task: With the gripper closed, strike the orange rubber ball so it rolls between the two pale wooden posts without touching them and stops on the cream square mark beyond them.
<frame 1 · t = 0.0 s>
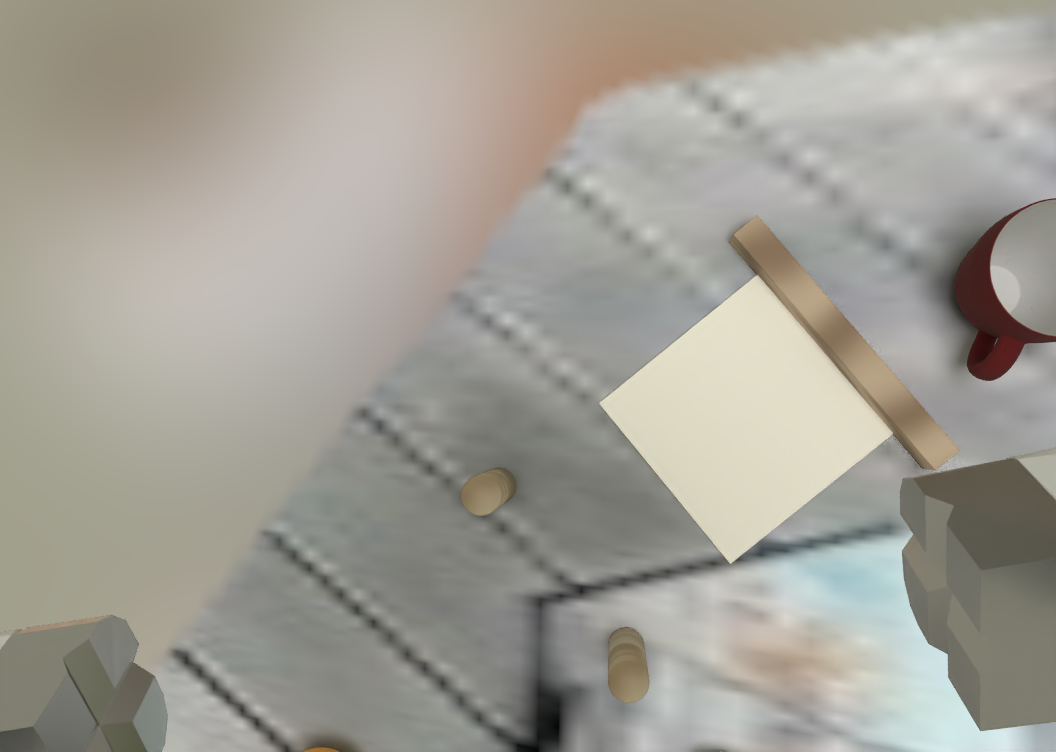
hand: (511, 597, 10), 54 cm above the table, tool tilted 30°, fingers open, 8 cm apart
post 1: (499, 485, 64), on the table
mug: (983, 311, 62), on the table
post 2: (626, 645, 63), on the table
stopper wall: (835, 344, 62), on the table
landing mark: (743, 418, 63), on the table
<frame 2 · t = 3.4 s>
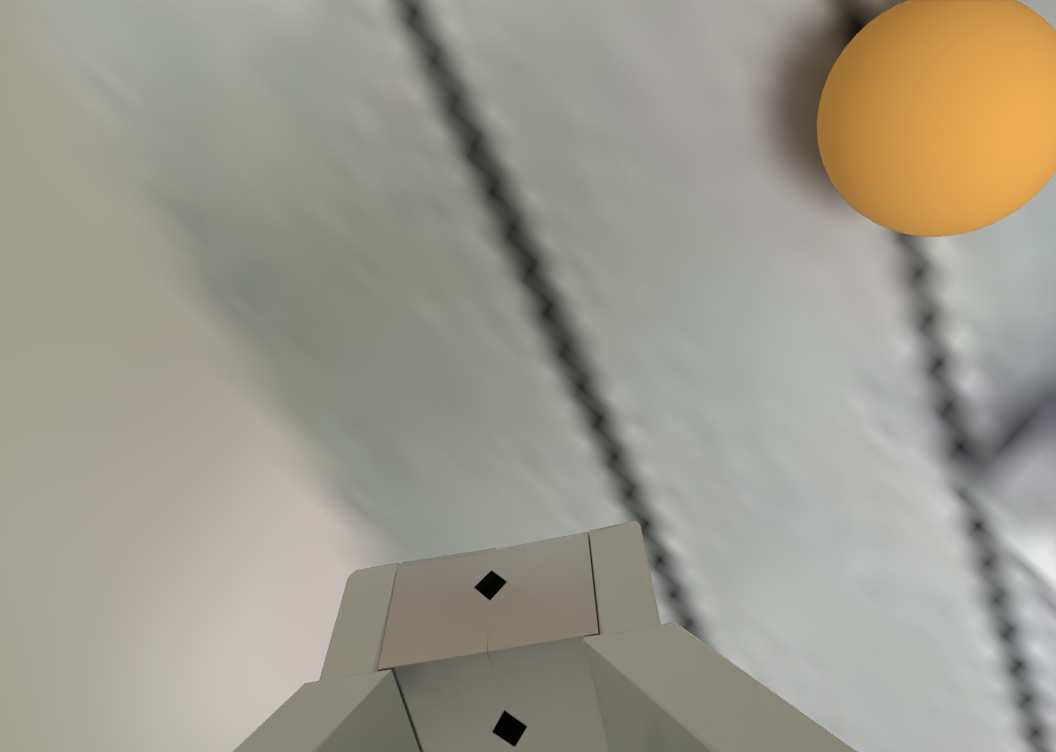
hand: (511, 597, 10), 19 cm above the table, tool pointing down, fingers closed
ball: (940, 117, 23), on the table
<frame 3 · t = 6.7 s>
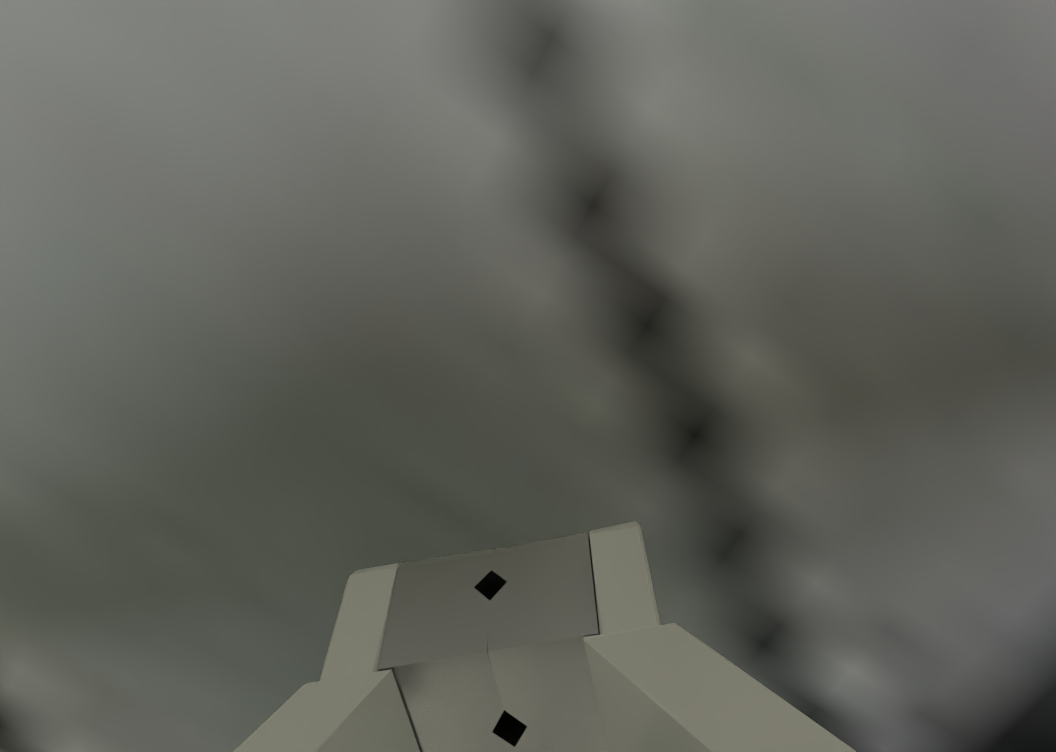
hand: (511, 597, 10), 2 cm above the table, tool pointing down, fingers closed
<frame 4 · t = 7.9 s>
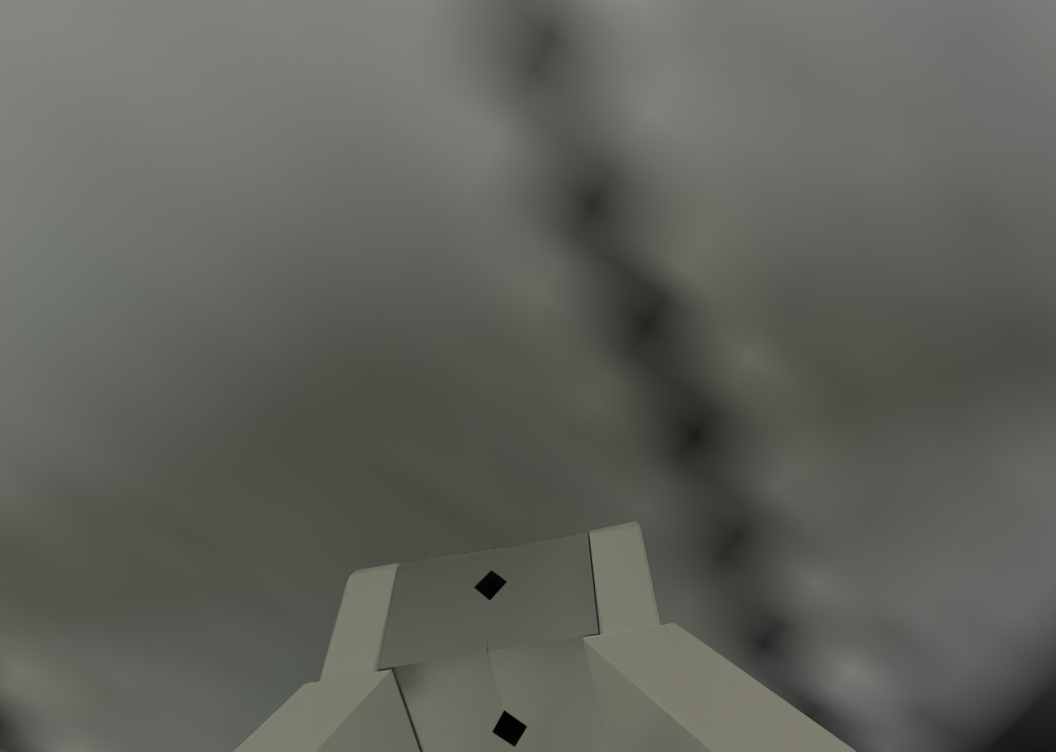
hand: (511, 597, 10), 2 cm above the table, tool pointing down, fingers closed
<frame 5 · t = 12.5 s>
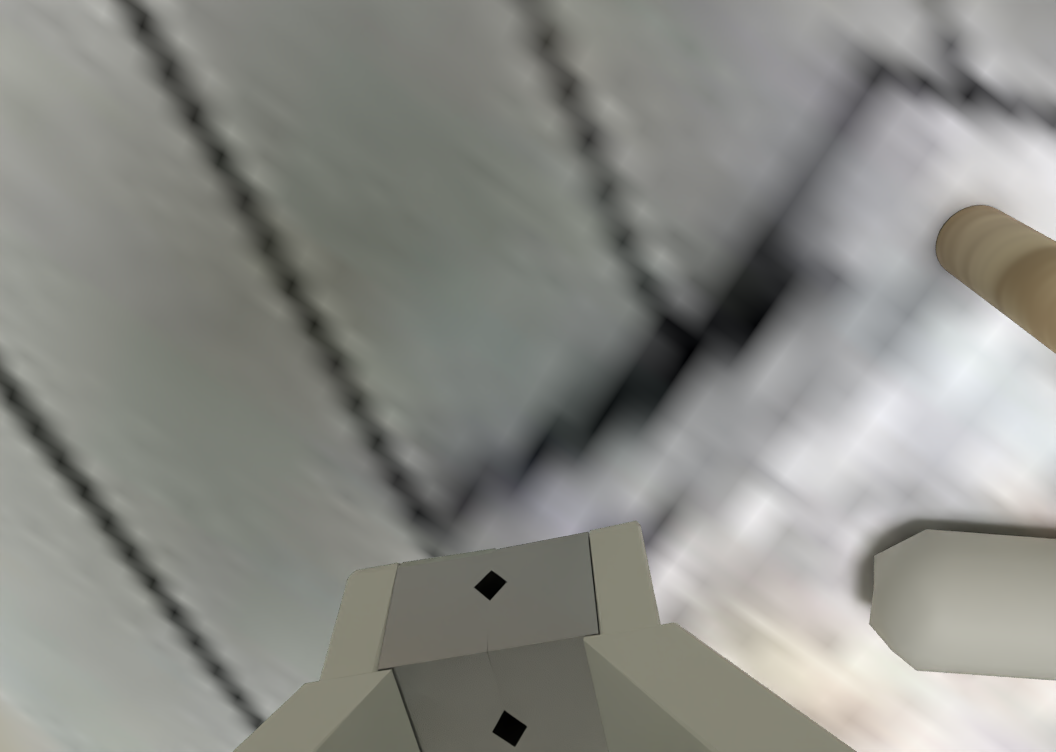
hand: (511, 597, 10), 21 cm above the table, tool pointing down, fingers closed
post 2: (973, 241, 30), on the table
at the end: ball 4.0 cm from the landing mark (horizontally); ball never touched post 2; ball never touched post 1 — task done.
